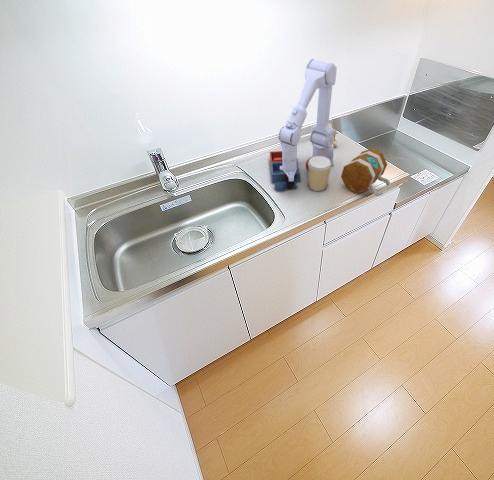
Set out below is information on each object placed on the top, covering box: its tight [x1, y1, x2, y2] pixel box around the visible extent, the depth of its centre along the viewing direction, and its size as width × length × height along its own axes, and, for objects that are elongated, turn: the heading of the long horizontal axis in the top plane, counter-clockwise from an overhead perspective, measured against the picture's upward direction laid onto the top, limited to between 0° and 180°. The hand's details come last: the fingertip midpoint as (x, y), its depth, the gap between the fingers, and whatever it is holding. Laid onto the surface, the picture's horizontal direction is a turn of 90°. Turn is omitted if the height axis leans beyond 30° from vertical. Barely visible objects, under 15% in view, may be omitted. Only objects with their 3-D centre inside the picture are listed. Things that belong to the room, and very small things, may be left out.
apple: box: [305, 156, 312, 173], centre depth 124 cm, size 8×8×8 cm
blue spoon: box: [274, 181, 297, 193], centre depth 118 cm, size 9×4×3 cm, turn 95°
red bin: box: [269, 150, 282, 164], centre depth 130 cm, size 9×12×4 cm
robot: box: [328, 121, 339, 149], centre depth 138 cm, size 10×8×15 cm
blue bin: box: [270, 160, 301, 184], centre depth 123 cm, size 9×12×4 cm
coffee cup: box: [308, 156, 332, 192], centre depth 116 cm, size 9×9×12 cm
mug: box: [340, 147, 392, 197], centre depth 116 cm, size 20×14×15 cm
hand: (289, 185), depth 118 cm, fingers open, 4 cm apart
